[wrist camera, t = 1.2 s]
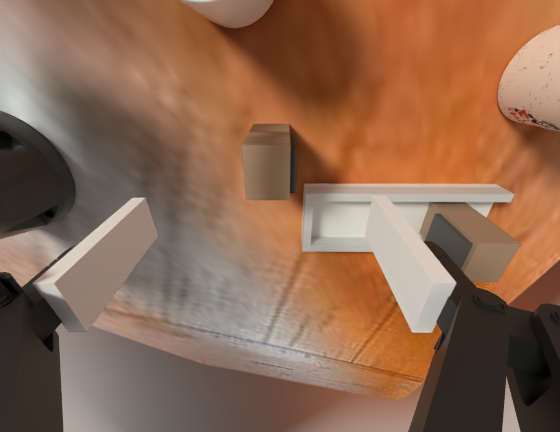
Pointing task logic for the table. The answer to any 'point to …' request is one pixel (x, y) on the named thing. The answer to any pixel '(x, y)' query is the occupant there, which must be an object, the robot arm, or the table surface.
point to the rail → (414, 221)
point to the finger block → (269, 162)
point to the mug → (230, 11)
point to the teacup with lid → (534, 82)
